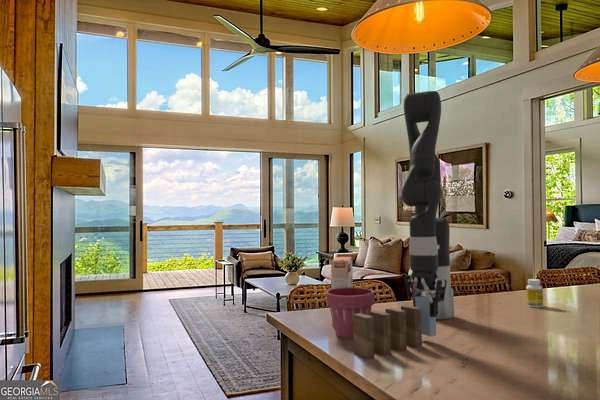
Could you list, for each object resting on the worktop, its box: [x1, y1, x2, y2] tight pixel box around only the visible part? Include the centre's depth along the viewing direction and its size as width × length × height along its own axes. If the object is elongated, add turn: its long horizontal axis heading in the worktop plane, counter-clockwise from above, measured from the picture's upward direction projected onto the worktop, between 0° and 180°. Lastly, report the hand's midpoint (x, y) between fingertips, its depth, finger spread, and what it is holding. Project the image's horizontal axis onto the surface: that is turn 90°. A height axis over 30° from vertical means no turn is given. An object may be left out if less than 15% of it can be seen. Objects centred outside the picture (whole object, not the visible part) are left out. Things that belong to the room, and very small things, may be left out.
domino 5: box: [415, 295, 437, 337], centre depth 130 cm, size 2×5×10 cm, turn 31°
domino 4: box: [400, 304, 423, 348], centre depth 127 cm, size 2×5×10 cm, turn 31°
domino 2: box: [370, 310, 392, 356], centre depth 121 cm, size 2×5×10 cm, turn 32°
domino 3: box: [384, 307, 408, 352], centre depth 124 cm, size 2×5×10 cm, turn 31°
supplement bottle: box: [525, 278, 544, 308], centre depth 171 cm, size 5×5×10 cm
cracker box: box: [330, 256, 354, 327], centre depth 156 cm, size 14×6×21 cm, turn 168°
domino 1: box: [353, 313, 375, 360], centre depth 119 cm, size 2×5×10 cm, turn 31°
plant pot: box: [325, 286, 375, 339], centre depth 140 cm, size 14×14×13 cm
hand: (425, 314), depth 130 cm, fingers closed on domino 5, 5 cm apart
